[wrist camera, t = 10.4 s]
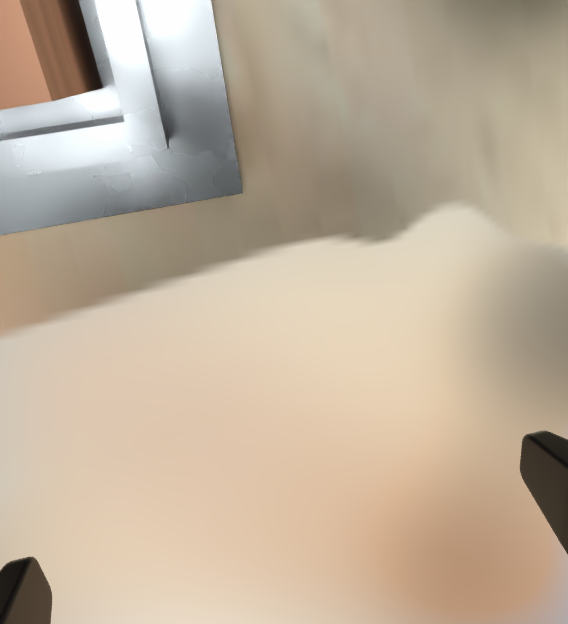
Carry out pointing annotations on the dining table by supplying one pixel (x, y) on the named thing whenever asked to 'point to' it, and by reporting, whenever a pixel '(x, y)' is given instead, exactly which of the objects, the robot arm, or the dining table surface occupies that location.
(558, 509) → the robot arm
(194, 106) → the socket block
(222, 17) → the dining table surface
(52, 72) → the pin
